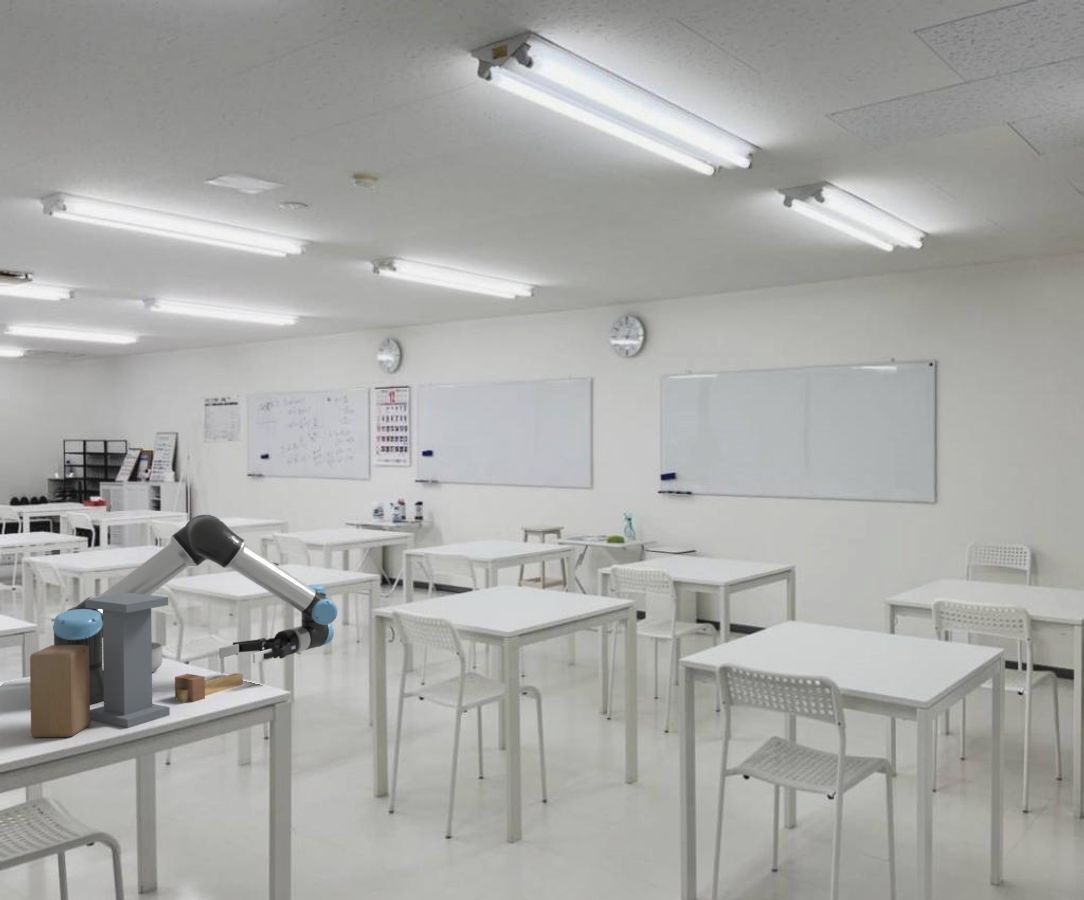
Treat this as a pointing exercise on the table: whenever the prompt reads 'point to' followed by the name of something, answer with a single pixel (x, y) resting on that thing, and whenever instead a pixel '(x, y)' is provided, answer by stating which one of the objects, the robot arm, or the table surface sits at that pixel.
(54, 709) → the wooden block
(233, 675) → the marking gauge
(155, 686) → the table surface
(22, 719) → the table surface
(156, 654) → the teacup
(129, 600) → the tall stand
